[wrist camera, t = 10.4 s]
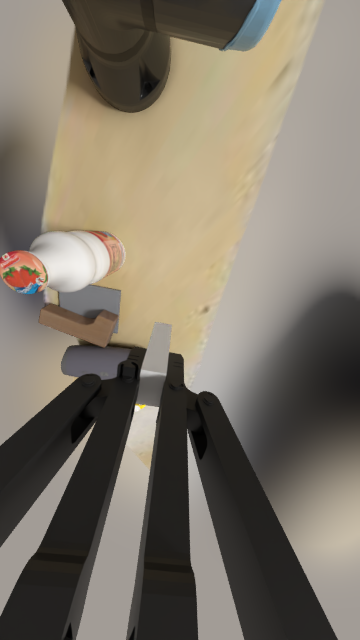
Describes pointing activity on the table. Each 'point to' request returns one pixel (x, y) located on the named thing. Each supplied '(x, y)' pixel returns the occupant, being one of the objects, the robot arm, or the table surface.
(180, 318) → the table surface
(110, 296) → the mat
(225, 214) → the table surface
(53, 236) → the fruit juice
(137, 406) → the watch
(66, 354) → the bluetooth speaker
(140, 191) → the table surface
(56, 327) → the wooden block
